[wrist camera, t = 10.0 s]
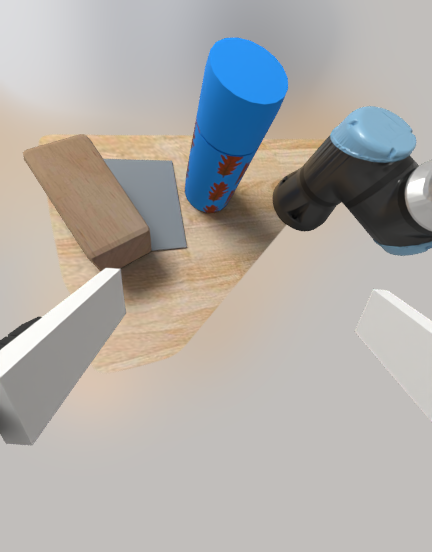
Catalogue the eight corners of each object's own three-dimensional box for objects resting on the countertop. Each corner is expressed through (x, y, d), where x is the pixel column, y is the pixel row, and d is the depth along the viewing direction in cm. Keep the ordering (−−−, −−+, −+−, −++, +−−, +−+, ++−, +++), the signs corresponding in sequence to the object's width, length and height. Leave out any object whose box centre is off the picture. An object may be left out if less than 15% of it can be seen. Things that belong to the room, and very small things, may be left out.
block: (152, 229, 34) (84, 129, 35) (89, 261, 30) (16, 148, 31) (153, 251, 43) (100, 172, 44) (105, 277, 40) (49, 190, 41)
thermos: (186, 167, 50) (210, 24, 27) (229, 177, 53) (287, 54, 29) (182, 209, 47) (205, 89, 24) (228, 217, 50) (291, 116, 26)
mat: (171, 162, 49) (171, 160, 49) (186, 247, 45) (186, 247, 45) (83, 159, 44) (82, 158, 44) (91, 256, 40) (90, 255, 40)
